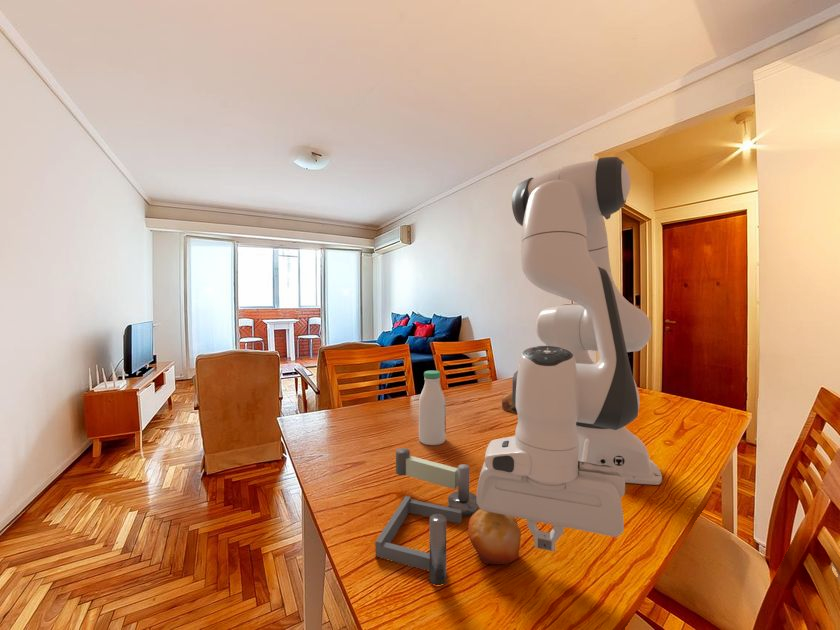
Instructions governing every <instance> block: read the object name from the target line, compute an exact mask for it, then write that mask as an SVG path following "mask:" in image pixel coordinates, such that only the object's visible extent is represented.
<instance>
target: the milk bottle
mask: <svg viewBox="0 0 840 630" xmlns="http://www.w3.org/2000/svg"><path fill="white" fill-rule="evenodd" d="M423 377H424V379H423V380H424V385H423V388H422V390H421V393H420V395H419V399H418V441H419V442H420V443H422V444H424V445H427V446H439V445H442V444H444V443H445V441H446V438H447V437H446V433H447V427H446V426H447V425H446V421H447V420H446V417H447V416H446V415H447V413H446V412H447V411H446V409H447V408H446V397H445V394H444V392H443V389H442V386H441V383H440V380H441V372H440V371H439V370H426V371H424V372H423Z"/></svg>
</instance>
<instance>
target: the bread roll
mask: <svg viewBox="0 0 840 630" xmlns="http://www.w3.org/2000/svg"><path fill="white" fill-rule="evenodd" d="M501 408H502V410H503V409H504V410H503V411H505V412H507V411H508V413H513V412H515V413H514V414H517V410H516V407H515V406H514V404H513V403H512V392H511V391H509V392H508V393H507V394H506V395H504V396H503V397H502V399H501Z"/></svg>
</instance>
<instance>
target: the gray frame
mask: <svg viewBox="0 0 840 630" xmlns="http://www.w3.org/2000/svg"><path fill="white" fill-rule="evenodd" d="M409 514H413V515H414V514H415V515H418V516H419V515H420V516H423V517H427V518H430V517H431V516H432V515H434V514H441V515H444V516H445V517H446V522H451V523H455V524H460V525H461V524H462V520H463V519H462V518H463V517H462V510H460V509H455V508H450V507H448V506H444V505H440V504H435V503H430V502H425V501H421V500H420V501H419V500H415V499H412V498H411V496H409V495H408V496H407V495H405V496H404V498H403V499H402V501H401V502H400V504H399V506H398V507H397V509H396V510H395V511H394V513H393V515H392V516H391V517H390V519H389V520H388V522H387V523H386V525H385V526H384V528H383V529H382V531H381V532H380V534H379V535H378V537H377V538H376V540H375V549H374V550H375V557H376V556H378V557H382V558H385V559H389V560H392V561H391V562H393V561H395V562H394V563H396V562H398V563H397V564H400V563H402V564H401V565H403V564H406V565H405V566H407V565H409V566H408V567H411V566H413V567H412V568H414V567H417V568H416V569H418V568H422V569H425V570H429V571H430V552H426V551H421V550H418V549H414V548H410V547H406V546H403V545H397V544H395V543H392V541H393V539H394V538H395V536H396V535H397V533H398V531H399V530H400V528H401V527H402V525H403V523H404V521H405V520H406V519H407V516H408V515H409ZM378 557H377V558H378ZM382 558H381V559H382ZM385 559H384V560H385ZM389 560H388V561H389ZM422 569H421V570H422ZM425 570H424V571H425ZM429 571H428V572H429Z"/></svg>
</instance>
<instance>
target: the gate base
mask: <svg viewBox="0 0 840 630" xmlns="http://www.w3.org/2000/svg"><path fill="white" fill-rule="evenodd" d="M476 497H477V494H475V493H472V492H470V491H469V500H468V501H466V502H463V501H460V500H459V499H458V490H457V491H454V492H452V493H450V494H449V495H448V497H447V500H448V501H447V507H450V508H455V509H460V510H462V518H471V516H472V515H473V514H474V513H475V512H476V511H477V510H478V509H480V508H479V506H478V505H477V502H476Z"/></svg>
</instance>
